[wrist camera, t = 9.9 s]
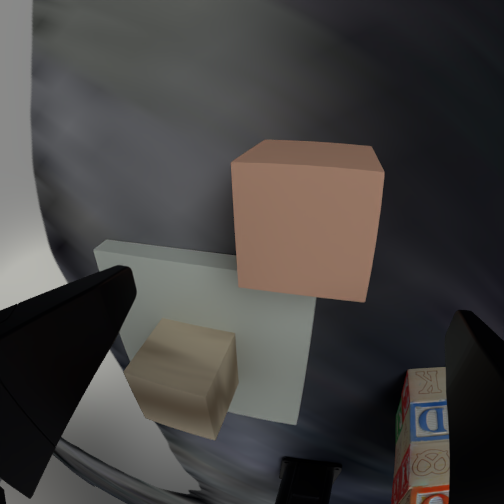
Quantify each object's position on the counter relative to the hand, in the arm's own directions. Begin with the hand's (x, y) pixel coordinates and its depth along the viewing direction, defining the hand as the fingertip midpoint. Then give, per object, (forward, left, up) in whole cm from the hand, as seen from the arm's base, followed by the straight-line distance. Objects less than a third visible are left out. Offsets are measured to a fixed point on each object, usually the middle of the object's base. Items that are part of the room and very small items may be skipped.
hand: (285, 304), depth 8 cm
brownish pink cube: (0, 0, -9) cm, 9 cm away
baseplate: (-11, +6, -9) cm, 15 cm away
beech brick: (-11, +6, -7) cm, 15 cm away
